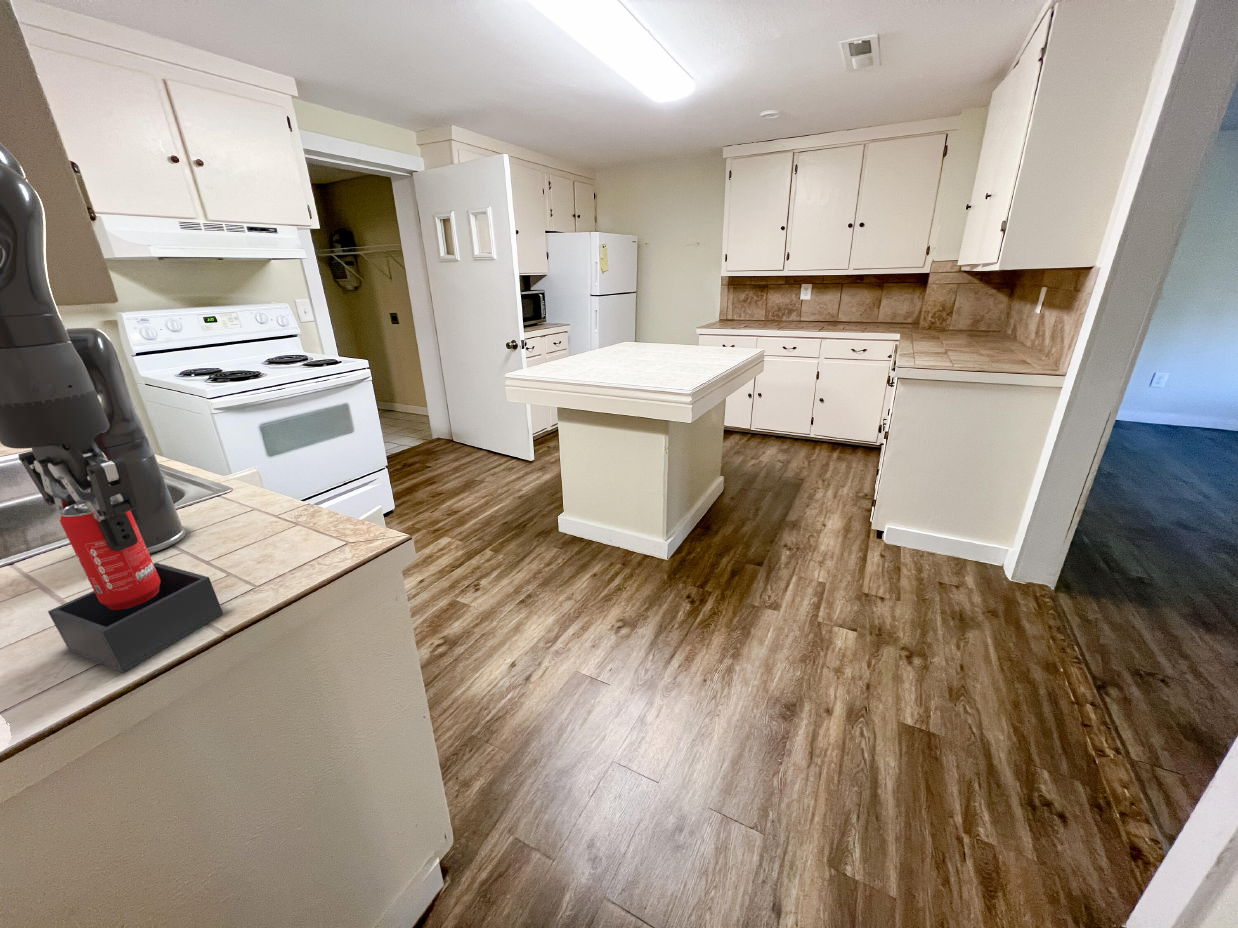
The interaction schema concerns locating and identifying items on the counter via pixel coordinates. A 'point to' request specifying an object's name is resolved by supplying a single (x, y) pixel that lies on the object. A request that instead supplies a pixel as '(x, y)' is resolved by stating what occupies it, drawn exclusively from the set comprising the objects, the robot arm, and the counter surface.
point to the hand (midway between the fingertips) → (108, 542)
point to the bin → (138, 620)
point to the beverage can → (111, 561)
